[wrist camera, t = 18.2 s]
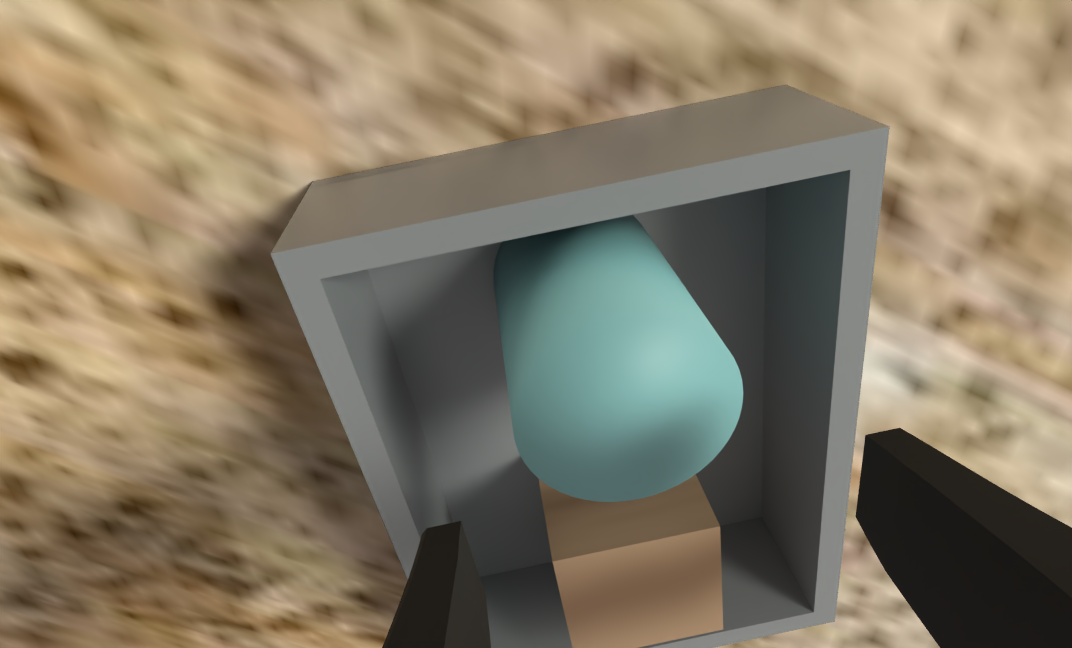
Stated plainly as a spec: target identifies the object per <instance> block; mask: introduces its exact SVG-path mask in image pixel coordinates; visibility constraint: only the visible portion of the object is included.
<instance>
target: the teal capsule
mask: <svg viewBox="0 0 1072 648" xmlns="http://www.w3.org/2000/svg"><path fill="white" fill-rule="evenodd" d="M494 288H495V296H496V304H497V312H498V319H499V327H500V335H501V342H502V350H503V358H504V365H505V373H506V381H507V388H508V396H509V404H510V412H511V419H512V427H513V434H514V440H515V443H516V446H517V449H518V452H519V454H520V456H521V457H522V459H523V461H524V463H525V464H526V465H527V467H528V468H529V469H530V470H531V472H532V473H533V474H535V475H536V476H537V477H538V478H539V479H540V480H541V481H543V482H544V483H545V484H547V485H548V486H550V487H552V488H553V489H555V490H557V491H559V492H561V493H564V494H567V495H569V496H572V497H576V498H580V499H584V500H590V501H597V502H620V501H629V500H636V499H641V498H645V497H649V496H652V495H655V494H658V493H661V492H664V491H666V490H668V489H671V488H673V487H675V486H677V485H679V484H681V483H682V482H684V481H686V480H688V479H689V478H691V477H692V476H694V475H695V474H696V473H698V472H699V471H701V470H702V469H703V468H704V467H705V466H706V465H708V464H709V463H710V462H711V461H712V460H713V459H714V458H715V457H716V456H717V455H718V453H719V452H720V451H721V450H722V449H723V447H724V446H725V444H726V443H727V442H728V440H729V439H730V437H731V435H732V433H733V431H734V429H735V427H736V425H737V422H738V420H739V417H740V413H741V409H742V403H743V384H742V378H741V374H740V370H739V368H738V365H737V363H736V361H735V359H734V357H733V356H732V354H731V353H730V351H729V350H728V348H727V347H726V345H725V344H724V343H723V341H722V340H721V338H720V337H719V335H718V334H717V332H716V331H715V330H714V328H713V327H712V325H711V324H710V322H709V321H708V320H707V318H706V317H705V315H704V314H703V312H702V311H701V309H700V308H699V307H698V305H697V304H696V302H695V301H694V299H693V298H692V296H691V295H690V294H689V292H688V291H687V289H686V288H685V286H684V285H683V283H682V282H681V281H680V279H679V278H678V276H677V275H676V273H675V272H674V270H673V269H672V268H671V266H670V265H669V263H668V262H667V260H666V259H665V258H664V256H663V255H662V253H661V252H660V250H659V249H658V247H657V246H656V245H655V243H654V242H653V240H652V239H651V237H650V236H649V234H648V233H647V232H646V230H645V229H644V227H643V226H642V224H641V223H640V222H639V221H638V220H637V219H636V218H635V216H634V215H628V216H624V217H619V218H614V219H609V220H604V221H599V222H594V223H590V224H585V225H580V226H575V227H570V228H565V229H561V230H556V231H551V232H546V233H541V234H536V235H531V236H527V237H522V238H517V239H512V240H507V241H503V242H502V244H501V246H500V248H499V250H498V253H497V256H496V260H495V265H494Z"/></svg>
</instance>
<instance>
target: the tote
mask: <svg viewBox="0 0 1072 648" xmlns="http://www.w3.org/2000/svg"><path fill="white" fill-rule="evenodd" d="M888 135H889V126H887V125H884V124H882V123H879V122H877V121H875V120H872V119H870V118H867V117H865V116H862V115H860V114H857V113H855V112H852V111H850V110H847V109H845V108H842V107H840V106H837V105H835V104H832V103H830V102H827V101H825V100H822V99H820V98H818V97H815V96H813V95H810V94H808V93H805V92H803V91H800V90H798V89H795V88H793V87H790V86H788V85H783V86H778V87H773V88H768V89H763V90H758V91H753V92H748V93H744V94H739V95H734V96H729V97H724V98H719V99H714V100H709V101H704V102H699V103H695V104H690V105H685V106H680V107H675V108H670V109H665V110H660V111H655V112H651V113H646V114H641V115H636V116H631V117H626V118H621V119H616V120H611V121H606V122H602V123H597V124H592V125H587V126H582V127H577V128H572V129H567V130H562V131H558V132H553V133H548V134H543V135H538V136H533V137H528V138H523V139H518V140H513V141H509V142H504V143H499V144H494V145H489V146H484V147H479V148H474V149H469V150H465V151H460V152H455V153H450V154H445V155H440V156H435V157H430V158H425V159H421V160H416V161H411V162H406V163H401V164H396V165H391V166H386V167H381V168H376V169H372V170H367V171H362V172H357V173H352V174H347V175H342V176H337V177H332V178H328V179H323V180H318V181H313V182H312V184H311V185H310V187H309V189H308V191H307V192H306V194H305V196H304V197H303V199H302V201H301V202H300V204H299V206H298V208H297V209H296V211H295V213H294V214H293V216H292V218H291V219H290V221H289V223H288V225H287V226H286V228H285V230H284V231H283V233H282V235H281V236H280V238H279V240H278V242H277V243H276V245H275V247H274V248H273V250H272V252H271V253H270V254H271V257H272V259H273V261H274V264H275V266H276V269H277V271H278V273H279V276H280V278H281V280H282V283H283V285H284V288H285V290H286V292H287V295H288V297H289V299H290V302H291V304H292V307H293V309H294V311H295V314H296V316H297V318H298V321H299V323H300V326H301V328H302V330H303V333H304V335H305V337H306V340H307V342H308V344H309V347H310V349H311V352H312V354H313V356H314V359H315V361H316V363H317V366H318V368H319V371H320V373H321V375H322V378H323V380H324V382H325V385H326V387H327V390H328V392H329V394H330V397H331V399H332V401H333V404H334V406H335V409H336V411H337V413H338V416H339V418H340V420H341V423H342V425H343V428H344V430H345V432H346V435H347V437H348V439H349V442H350V444H351V447H352V449H353V451H354V454H355V456H356V458H357V461H358V463H359V465H360V468H361V470H362V473H363V475H364V477H365V480H366V482H367V484H368V487H369V489H370V492H371V494H372V496H373V499H374V501H375V503H376V506H377V508H378V511H379V513H380V515H381V518H382V520H383V522H384V525H385V527H386V530H387V532H388V534H389V537H390V539H391V541H392V544H393V546H394V549H395V551H396V553H397V556H398V558H399V560H400V563H401V565H402V568H403V570H404V572H405V575H406V577H407V579H408V578H409V575H410V572H411V569H412V566H413V563H414V560H415V556H416V553H417V550H418V546H419V543H420V539H421V535H422V533H423V532H424V531H425V530H426V528H429V527H434V526H439V525H444V524H448V523H453V522H458V521H461V522H462V525H463V528H464V531H465V534H466V537H467V540H468V543H469V546H470V549H471V553H472V556H473V559H474V562H475V565H476V568H477V571H478V574H479V577H480V580H481V583H482V586H483V589H484V592H485V595H486V602H487V612H488V621H489V631H490V641H491V648H572V644H571V639H570V635H569V631H568V626H567V622H566V618H565V613H564V609H563V605H562V601H561V596H560V592H559V588H558V583H557V579H556V575H555V570H554V566H553V562H552V556H551V550H550V544H549V538H548V532H547V526H546V520H545V514H544V508H543V502H542V497H541V491H540V485H539V479H538V477H537V476H536V475H535V474H533V473H532V472H531V470H530V469H529V468H528V467H527V465H526V464H525V463H524V461H523V459H522V457H521V456H520V454H519V452H518V449H517V446H516V443H515V440H514V434H513V427H512V419H511V412H510V404H509V396H508V388H507V381H506V373H505V365H504V358H503V350H502V342H501V335H500V327H499V319H498V312H497V304H496V296H495V288H494V265H495V260H496V256H497V253H498V250H499V248H500V246H501V244H502V242H503V241H507V240H512V239H517V238H522V237H527V236H531V235H536V234H541V233H546V232H551V231H556V230H561V229H565V228H570V227H575V226H580V225H585V224H590V223H594V222H599V221H604V220H609V219H614V218H619V217H624V216H628V215H634V216H635V218H636V219H637V220H638V221H639V222H640V223H641V224H642V226H643V227H644V229H645V230H646V232H647V233H648V234H649V236H650V237H651V239H652V240H653V242H654V243H655V245H656V246H657V247H658V249H659V250H660V252H661V253H662V255H663V256H664V258H665V259H666V260H667V262H668V263H669V265H670V266H671V268H672V269H673V270H674V272H675V273H676V275H677V276H678V278H679V279H680V281H681V282H682V283H683V285H684V286H685V288H686V289H687V291H688V292H689V294H690V295H691V296H692V298H693V299H694V301H695V302H696V304H697V305H698V307H699V308H700V309H701V311H702V312H703V314H704V315H705V317H706V318H707V320H708V321H709V322H710V324H711V325H712V327H713V328H714V330H715V331H716V332H717V334H718V335H719V337H720V338H721V340H722V341H723V343H724V344H725V345H726V347H727V348H728V350H729V351H730V353H731V354H732V356H733V357H734V359H735V361H736V363H737V365H738V368H739V370H740V374H741V378H742V384H743V403H742V409H741V413H740V417H739V420H738V422H737V425H736V427H735V429H734V431H733V433H732V435H731V437H730V439H729V440H728V442H727V443H726V444H725V446H724V447H723V449H722V450H721V451H720V452H719V453H718V455H717V456H716V457H715V458H714V459H713V460H712V461H711V462H710V463H709V464H708V465H706V466H705V467H704V468H703V469H702V470H701V471H699V472H698V473H696V476H697V478H698V480H699V482H700V484H701V486H702V489H703V491H704V493H705V495H706V497H707V499H708V501H709V503H710V506H711V508H712V510H713V512H714V514H715V516H716V518H717V521H718V523H719V525H720V536H721V570H722V605H723V630H718V631H714V632H709V633H704V634H700V635H695V636H690V637H686V638H681V639H676V640H671V641H667V642H662V643H657V644H653V645H648V646H643V647H639V648H714V647H718V646H723V645H728V644H732V643H737V642H742V641H746V640H751V639H755V638H760V637H765V636H769V635H774V634H779V633H783V632H788V631H793V630H797V629H802V628H807V627H811V626H816V625H820V624H825V623H830V622H834V621H835V614H836V605H837V596H838V587H839V578H840V569H841V560H842V551H843V542H844V533H845V524H846V515H847V506H848V497H849V488H850V479H851V470H852V461H853V452H854V443H855V434H856V425H857V416H858V406H859V397H860V388H861V379H862V370H863V361H864V352H865V343H866V334H867V325H868V316H869V307H870V298H871V289H872V280H873V271H874V262H875V253H876V244H877V235H878V226H879V217H880V208H881V199H882V190H883V181H884V171H885V162H886V153H887V144H888Z"/></svg>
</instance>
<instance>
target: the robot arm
mask: <svg viewBox="0 0 1072 648" xmlns="http://www.w3.org/2000/svg"><path fill="white" fill-rule="evenodd" d="M856 518H857V520H858V522H859V524H860V526H861V527H862V529H863V531H864V533H865V535H866V537H867V539H868V541H869V542H870V544H871V546H872V548H873V550H874V551H875V553H876V555H877V557H878V558H879V560H880V562H881V564H882V565H883V567H884V569H885V571H886V572H887V574H888V575H889V577H890V578H891V579H892V581H893V582H894V584H895V585H896V587H897V588H898V589H899V591H900V592H901V594H902V595H903V596H904V598H905V599H906V601H907V602H908V603H909V605H910V606H911V608H912V609H913V610H914V612H915V613H916V615H917V616H918V617H919V619H920V620H921V622H922V623H923V624H924V626H925V627H926V629H927V630H928V631H929V633H930V634H931V635H932V637H933V638H934V640H935V641H936V642H937V644H938V645H939V647H940V648H1072V528H1071V527H1069V526H1068V525H1066V524H1064V523H1062V522H1060V521H1058V520H1057V519H1055V518H1053V517H1051V516H1049V515H1047V514H1046V513H1044V512H1042V511H1040V510H1038V509H1037V508H1035V507H1033V506H1031V505H1030V504H1028V503H1026V502H1024V501H1023V500H1021V499H1019V498H1017V497H1016V496H1014V495H1012V494H1010V493H1009V492H1007V491H1005V490H1004V489H1002V488H1000V487H998V486H997V485H995V484H993V483H992V482H990V481H988V480H987V479H985V478H983V477H981V476H980V475H978V474H976V473H975V472H973V471H971V470H970V469H968V468H966V467H965V466H963V465H961V464H960V463H958V462H956V461H955V460H953V459H951V458H950V457H948V456H946V455H945V454H943V453H941V452H940V451H938V450H937V449H935V448H933V447H932V446H930V445H928V444H927V443H925V442H923V441H921V440H920V439H918V438H916V437H915V436H913V435H911V434H909V433H908V432H906V431H904V430H903V429H901V428H897V429H892V430H887V431H883V432H878V433H873V434H868V435H866V436H865V444H864V452H863V461H862V469H861V477H860V485H859V494H858V502H857V510H856ZM382 648H491V641H490V631H489V621H488V612H487V602H486V595H485V592H484V589H483V586H482V583H481V580H480V577H479V574H478V571H477V568H476V565H475V562H474V559H473V556H472V553H471V549H470V546H469V543H468V540H467V537H466V534H465V531H464V528H463V525H462V522H461V521H458V522H453V523H448V524H444V525H439V526H434V527H429V528H426V530H425V531H424V532H423V533H422V535H421V539H420V543H419V546H418V550H417V553H416V556H415V560H414V563H413V566H412V569H411V572H410V575H409V578H408V581H407V584H406V587H405V590H404V592H403V595H402V598H401V601H400V604H399V606H398V609H397V611H396V614H395V617H394V619H393V622H392V624H391V627H390V629H389V632H388V634H387V637H386V640H385V642H384V645H383V647H382Z"/></svg>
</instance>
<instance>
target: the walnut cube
mask: <svg viewBox="0 0 1072 648" xmlns="http://www.w3.org/2000/svg"><path fill="white" fill-rule="evenodd" d="M538 479H539V478H538ZM539 485H540V491H541V497H542V502H543V508H544V514H545V520H546V526H547V532H548V538H549V544H550V550H551V556H552V562H553V566H554V570H555V575H556V579H557V583H558V588H559V592H560V596H561V601H562V605H563V609H564V613H565V618H566V622H567V626H568V631H569V635H570V639H571V644H572V648H639V647H643V646H648V645H653V644H657V643H662V642H667V641H671V640H676V639H681V638H686V637H690V636H695V635H700V634H704V633H709V632H714V631H718V630H723V605H722V570H721V536H720V525H719V523H718V521H717V518H716V516H715V514H714V512H713V510H712V508H711V506H710V503H709V501H708V499H707V497H706V495H705V493H704V491H703V489H702V486H701V484H700V482H699V480H698V478H697V476H696V474H695V475H694V476H692V477H691V478H689V479H688V480H686V481H684V482H682V483H681V484H679V485H677V486H675V487H673V488H671V489H668V490H666V491H664V492H661V493H658V494H655V495H652V496H649V497H645V498H641V499H636V500H629V501H620V502H597V501H590V500H584V499H580V498H576V497H572V496H569V495H567V494H564V493H561V492H559V491H557V490H555V489H553V488H552V487H550V486H548V485H547V484H545V483H544V482H543V481H541V480H540V479H539Z"/></svg>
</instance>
